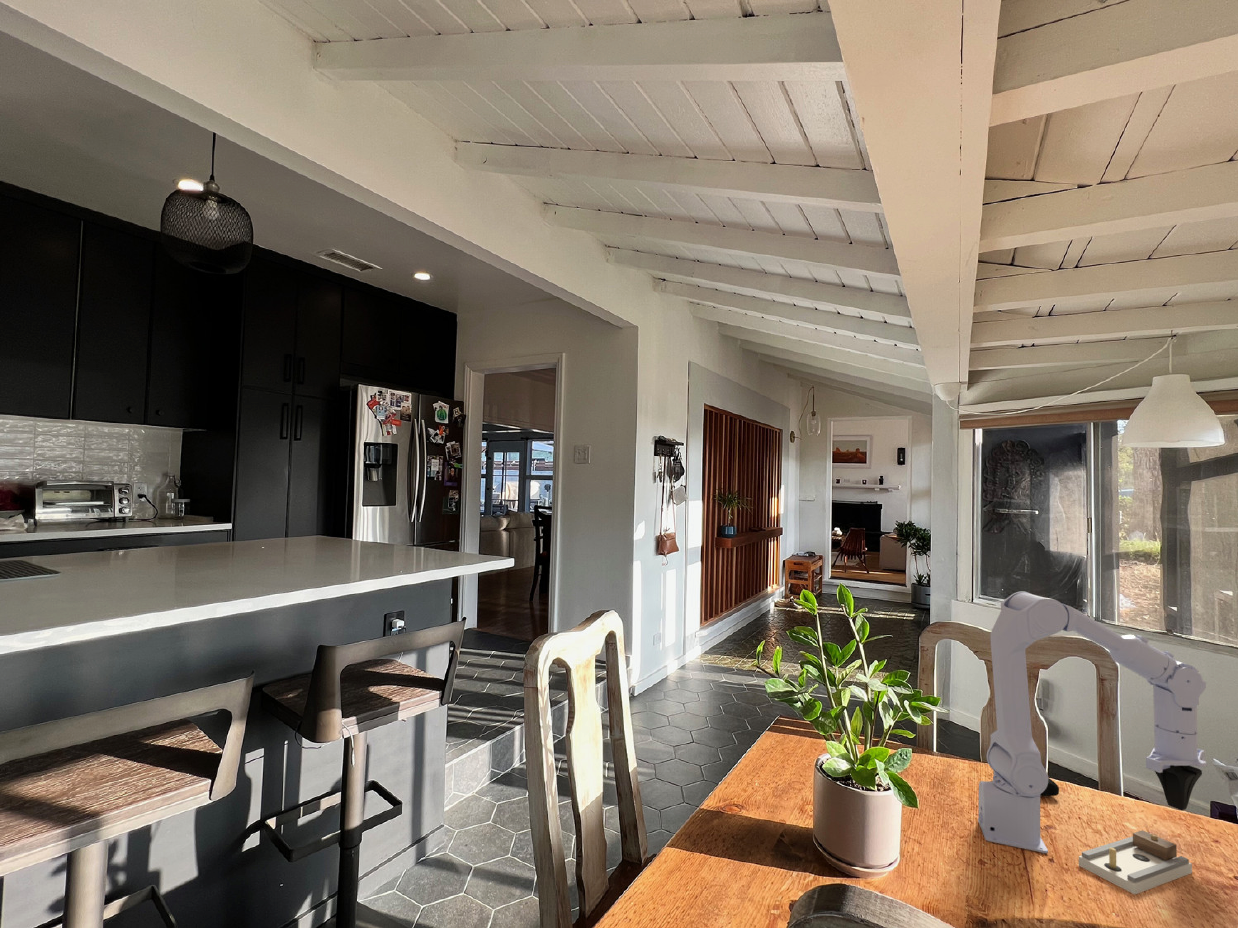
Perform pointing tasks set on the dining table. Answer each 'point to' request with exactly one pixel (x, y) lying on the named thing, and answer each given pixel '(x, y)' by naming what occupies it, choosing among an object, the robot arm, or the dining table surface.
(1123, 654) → the robot arm
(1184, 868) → the plate
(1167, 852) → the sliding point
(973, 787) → the dining table surface
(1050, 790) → the tape measure
